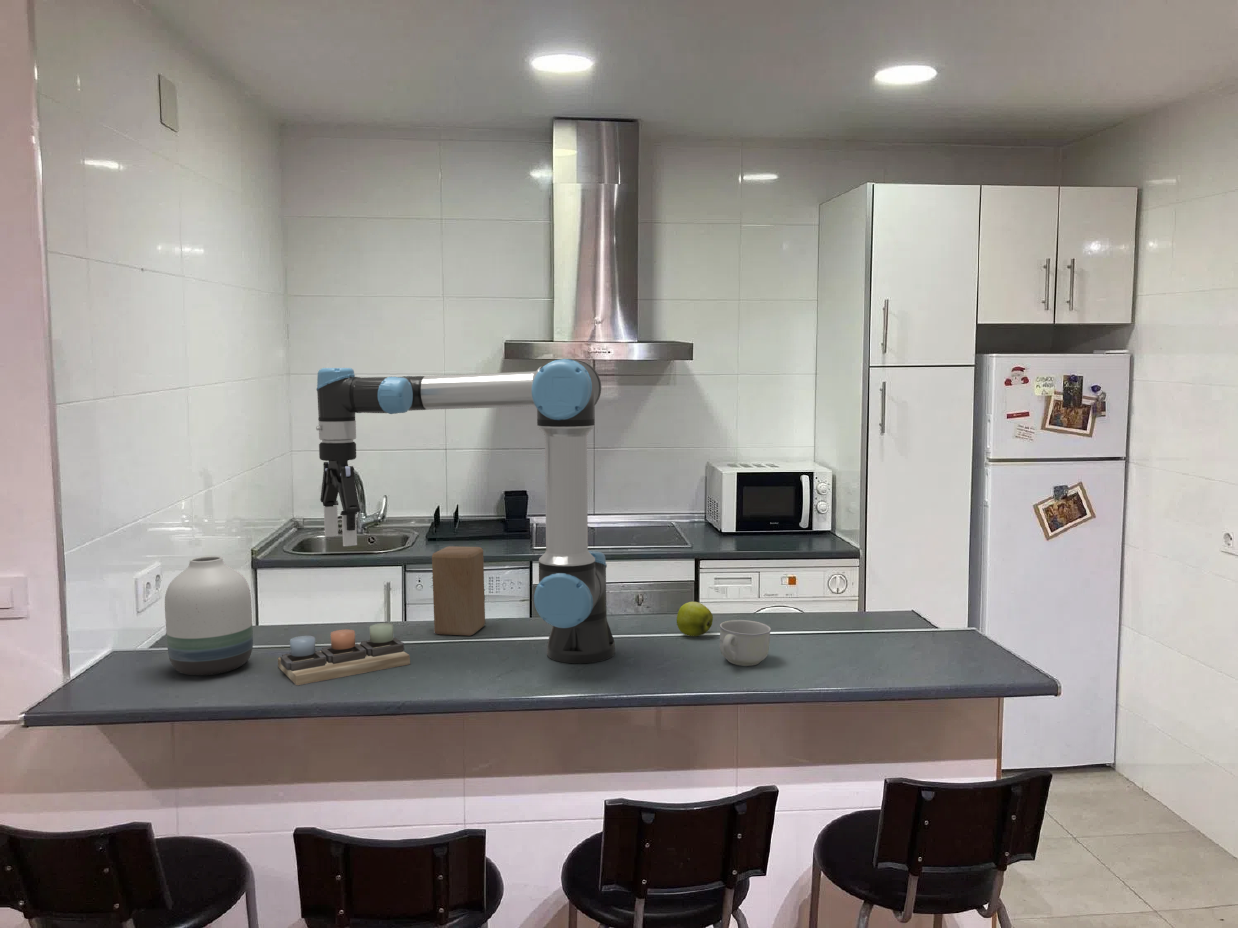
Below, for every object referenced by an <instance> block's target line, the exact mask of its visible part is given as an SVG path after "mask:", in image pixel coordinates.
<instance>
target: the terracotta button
mask: <svg viewBox="0 0 1238 928" xmlns="http://www.w3.org/2000/svg"><path fill="white" fill-rule="evenodd" d="M355 644H356V631H355V630H354V629H349V628H347V629H345V628H344V629H336V630H334V631H331V632H330V647H331V648H332V649H338V650H341V649H349V648H352V647H354V646H355Z"/></svg>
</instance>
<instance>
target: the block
mask: <svg viewBox="0 0 1238 928" xmlns="http://www.w3.org/2000/svg"><path fill="white" fill-rule="evenodd" d="M431 563H432V564H431V568H432V569H431V570H432V573H431V574H432V593H433V594H432V596H433V597H432V598H433V623H434V624H433V627H434V628H433V631H434V633H435V635H436V634H437V635H445V636H447V635H448V636H466V637H468V636H473V635H475V634H476V633H477V632H478V631H480V630H481V629H482V628H483V627H485V625H486V606H485V605H486V602H485V600H486V599H485V570H484V569H485V568H484V565H485V564H484V549H483V548H482V547H480V546H456V545H455V546H452V545H451V546H450V545H449V546H445V547H443V548H442V549H441V548H440V550H438V551H435V552H433V553H432V555H431Z"/></svg>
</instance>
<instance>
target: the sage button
mask: <svg viewBox="0 0 1238 928" xmlns="http://www.w3.org/2000/svg"><path fill="white" fill-rule="evenodd" d="M393 638H394V625H393V624H392V623H389V622H388V623H387V622H386V623H384V622H382V623H375V624H371V625H369V640H370V641H371V642H373V643H384V642H389V641H392V640H393Z"/></svg>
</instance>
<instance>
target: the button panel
mask: <svg viewBox="0 0 1238 928" xmlns="http://www.w3.org/2000/svg"><path fill="white" fill-rule="evenodd" d="M408 665H411V657H410V654H408V653H407V652H405V643H404V642H403V641H401V640H400V639H399V638H397V637H393V640H392V641H389V642H384V643H373V642H371V641H370V639H368V640H363V641H360V643H355V646H354V647H352V648H349V649H341V650H338V649H332V648H331V646H327V647H322V648H321V650H316V652H315V653H314V654H312V655H308V656H292V655H291V652H290V653H285V654H282V655H281V656H279V657H278V658H277V667H278V669H279V670H281V671H282V673H283V674H285V676H286V677H287V678H288V679H290V681H291V682H293V683H294V685H295V686H302V685H306V684H307V685H308V684H311V683H318V682H323V681H327V680H328V681H329V680H333V679H339V678H343V677H344V678H345V677H349V676H355V675H359V674H365V673H370V672H376V671H381V670H387V669H392V668H393V669H394V668H397V667H402V666H408Z"/></svg>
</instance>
